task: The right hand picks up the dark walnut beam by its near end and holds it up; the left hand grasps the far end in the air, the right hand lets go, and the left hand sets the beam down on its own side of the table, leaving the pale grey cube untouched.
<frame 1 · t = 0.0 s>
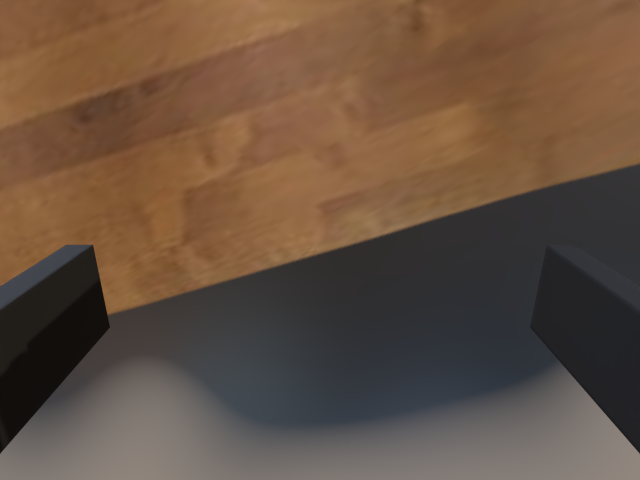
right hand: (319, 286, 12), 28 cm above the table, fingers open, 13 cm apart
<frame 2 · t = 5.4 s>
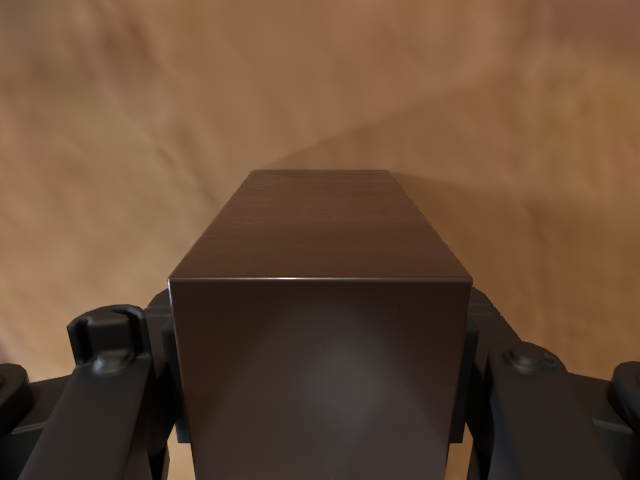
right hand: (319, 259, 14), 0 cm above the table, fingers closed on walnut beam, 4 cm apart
walnut beam: (319, 451, 18), on the table, touching right hand
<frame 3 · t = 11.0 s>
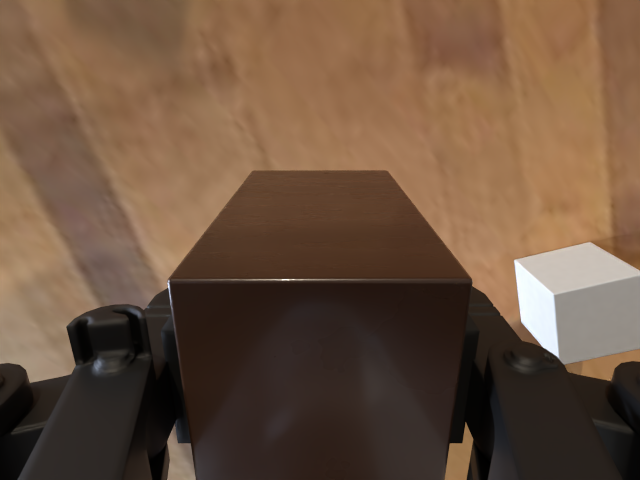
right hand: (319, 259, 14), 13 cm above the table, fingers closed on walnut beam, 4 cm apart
walnut beam: (320, 451, 18), point 12 cm above the table, touching right hand, left hand
grey cube: (554, 283, 28), on the table
when the right hand's fingers open (13 cm above the table, at t = 11.6 s): walnut beam stays where it is, held by the left hand.
when the left hand's fingers open (2 cm above the table, at t = 18.6 s): walnut beam drops 1 cm, on the table.
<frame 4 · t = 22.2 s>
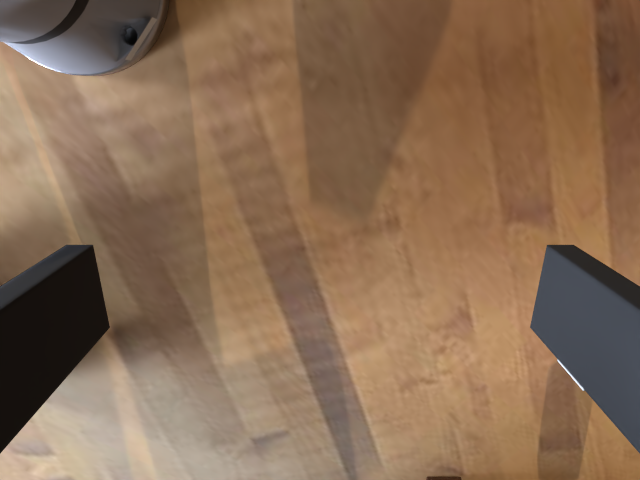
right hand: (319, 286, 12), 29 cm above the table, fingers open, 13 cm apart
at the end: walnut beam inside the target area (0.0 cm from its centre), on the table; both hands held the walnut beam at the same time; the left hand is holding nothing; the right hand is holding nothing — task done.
